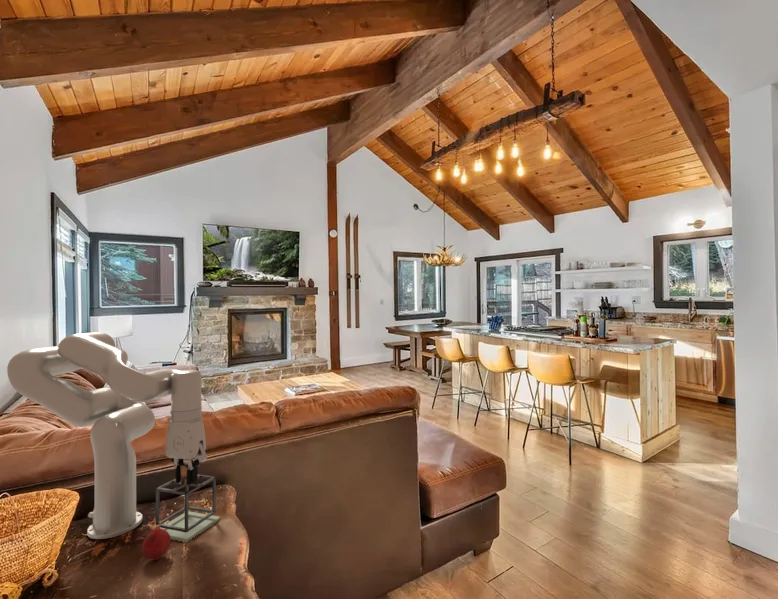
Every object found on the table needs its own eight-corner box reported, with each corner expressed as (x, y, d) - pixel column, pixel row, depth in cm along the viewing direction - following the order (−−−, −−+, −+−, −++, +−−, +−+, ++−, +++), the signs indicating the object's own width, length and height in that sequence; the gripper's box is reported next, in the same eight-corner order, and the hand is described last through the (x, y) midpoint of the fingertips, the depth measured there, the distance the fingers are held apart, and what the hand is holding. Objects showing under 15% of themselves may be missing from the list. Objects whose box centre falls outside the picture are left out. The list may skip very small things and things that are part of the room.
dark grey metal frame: (155, 526, 104) (155, 469, 104) (187, 507, 114) (186, 455, 114) (186, 532, 101) (186, 473, 101) (215, 512, 111) (215, 459, 111)
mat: (151, 535, 103) (151, 533, 103) (187, 513, 115) (187, 511, 115) (186, 542, 100) (186, 540, 100) (220, 518, 111) (220, 516, 111)
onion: (157, 569, 90) (157, 533, 90) (136, 566, 91) (136, 531, 91) (175, 553, 95) (175, 520, 96) (155, 551, 96) (155, 518, 97)
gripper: (152, 416, 107) (152, 484, 107) (199, 420, 102) (199, 491, 102) (174, 409, 114) (174, 473, 114) (220, 413, 109) (220, 479, 109)
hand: (186, 481), depth 108 cm, fingers closed on dark grey metal frame, 3 cm apart
